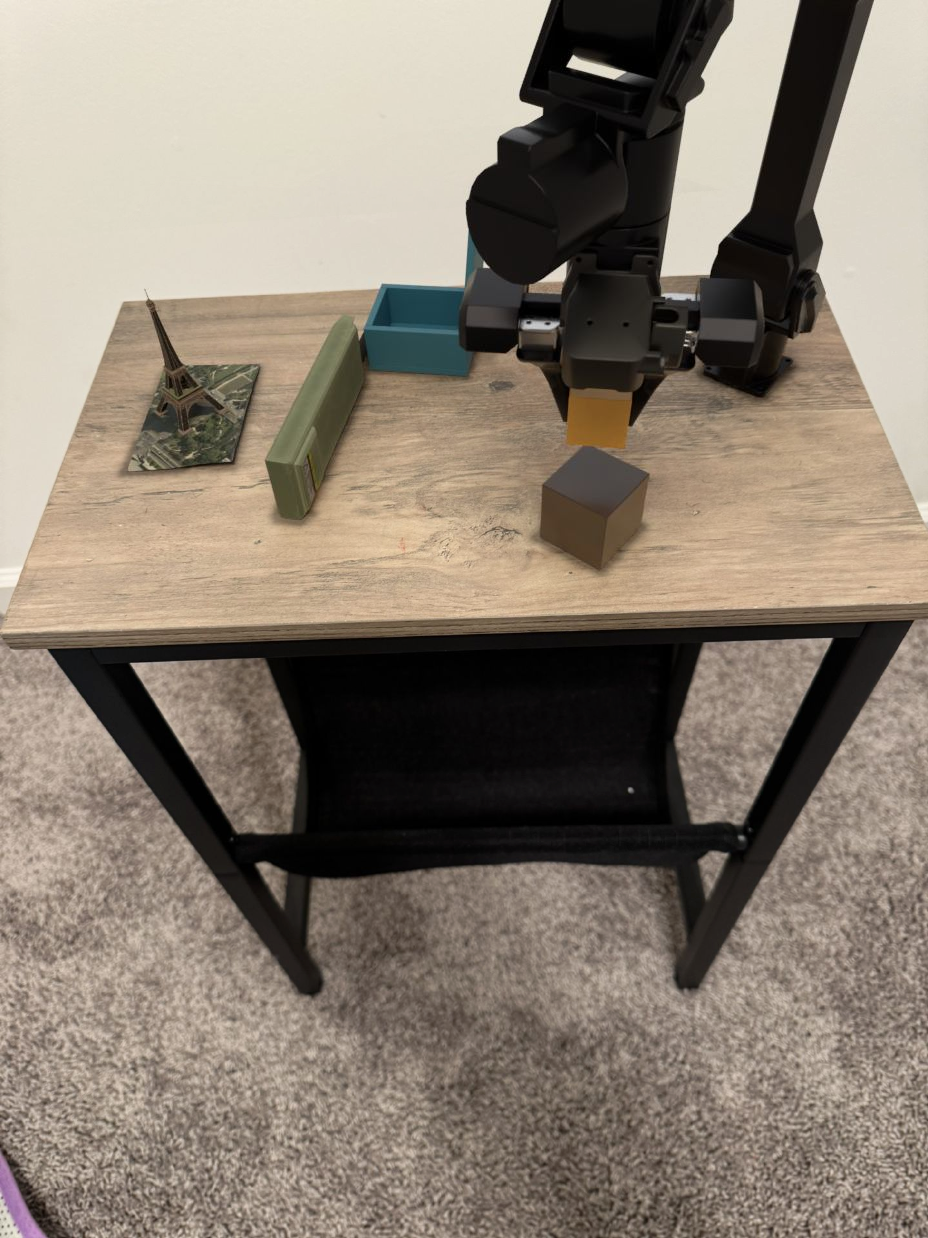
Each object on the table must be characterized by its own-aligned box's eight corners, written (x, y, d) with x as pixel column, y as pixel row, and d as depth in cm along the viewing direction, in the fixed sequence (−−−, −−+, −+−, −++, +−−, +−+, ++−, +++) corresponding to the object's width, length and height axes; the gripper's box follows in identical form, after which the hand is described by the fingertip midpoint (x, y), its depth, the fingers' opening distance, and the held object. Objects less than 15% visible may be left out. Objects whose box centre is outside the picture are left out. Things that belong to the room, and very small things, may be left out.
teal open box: (369, 370, 83) (363, 328, 80) (387, 323, 88) (381, 283, 84) (467, 376, 82) (465, 334, 78) (479, 329, 87) (478, 287, 83)
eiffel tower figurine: (235, 468, 75) (190, 340, 65) (126, 471, 76) (64, 345, 65) (261, 367, 84) (225, 240, 74) (163, 370, 85) (113, 245, 74)
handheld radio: (272, 516, 71) (353, 344, 86) (309, 522, 71) (384, 348, 86) (256, 458, 66) (345, 285, 81) (295, 464, 66) (378, 289, 80)
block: (570, 407, 62) (574, 359, 58) (627, 411, 61) (634, 362, 58) (565, 444, 59) (569, 396, 56) (625, 449, 59) (631, 401, 55)
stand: (580, 496, 71) (585, 442, 66) (640, 526, 69) (650, 473, 64) (539, 537, 69) (541, 484, 64) (600, 570, 66) (607, 518, 61)
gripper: (434, 272, 44) (451, 488, 56) (801, 289, 41) (733, 511, 54) (467, 173, 50) (476, 385, 63) (785, 183, 48) (729, 402, 60)
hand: (597, 420), depth 60 cm, fingers closed on block, 4 cm apart
